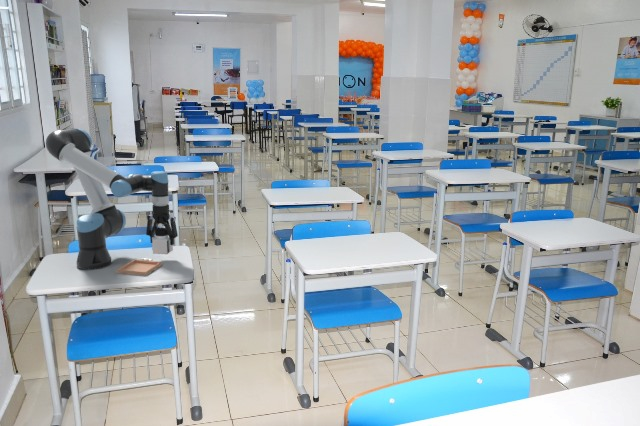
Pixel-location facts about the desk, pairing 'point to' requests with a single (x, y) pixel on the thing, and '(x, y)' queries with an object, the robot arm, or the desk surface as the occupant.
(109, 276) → the desk surface
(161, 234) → the medicine bottle
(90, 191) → the robot arm
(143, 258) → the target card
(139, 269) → the tray
